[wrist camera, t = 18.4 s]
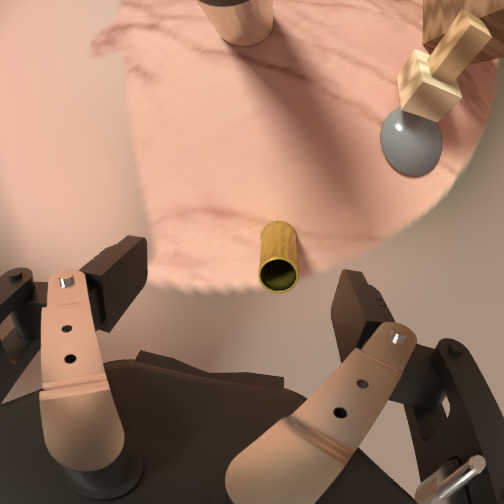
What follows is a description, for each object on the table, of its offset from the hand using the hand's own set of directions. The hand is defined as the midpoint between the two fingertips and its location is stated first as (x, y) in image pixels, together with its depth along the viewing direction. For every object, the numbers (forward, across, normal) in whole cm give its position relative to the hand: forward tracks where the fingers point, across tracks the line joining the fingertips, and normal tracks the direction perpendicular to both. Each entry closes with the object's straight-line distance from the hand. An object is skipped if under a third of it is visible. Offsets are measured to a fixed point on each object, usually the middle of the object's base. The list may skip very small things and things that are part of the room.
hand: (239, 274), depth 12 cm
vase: (+38, -4, +12) cm, 40 cm away
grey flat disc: (+38, -23, -9) cm, 46 cm away
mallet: (+26, -22, -18) cm, 39 cm away
